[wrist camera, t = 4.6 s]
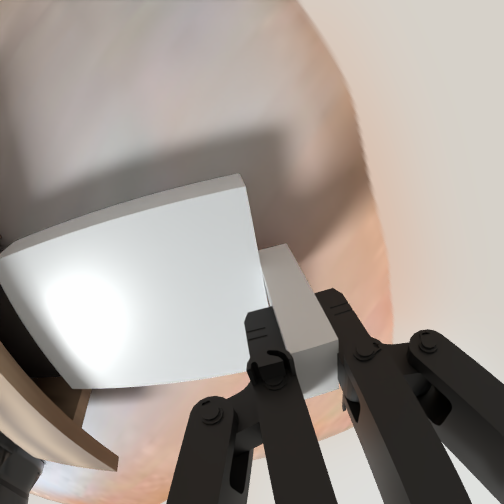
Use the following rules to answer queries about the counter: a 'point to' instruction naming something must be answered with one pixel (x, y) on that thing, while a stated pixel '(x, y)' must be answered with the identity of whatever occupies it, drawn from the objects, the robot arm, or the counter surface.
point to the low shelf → (48, 418)
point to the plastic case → (142, 287)
